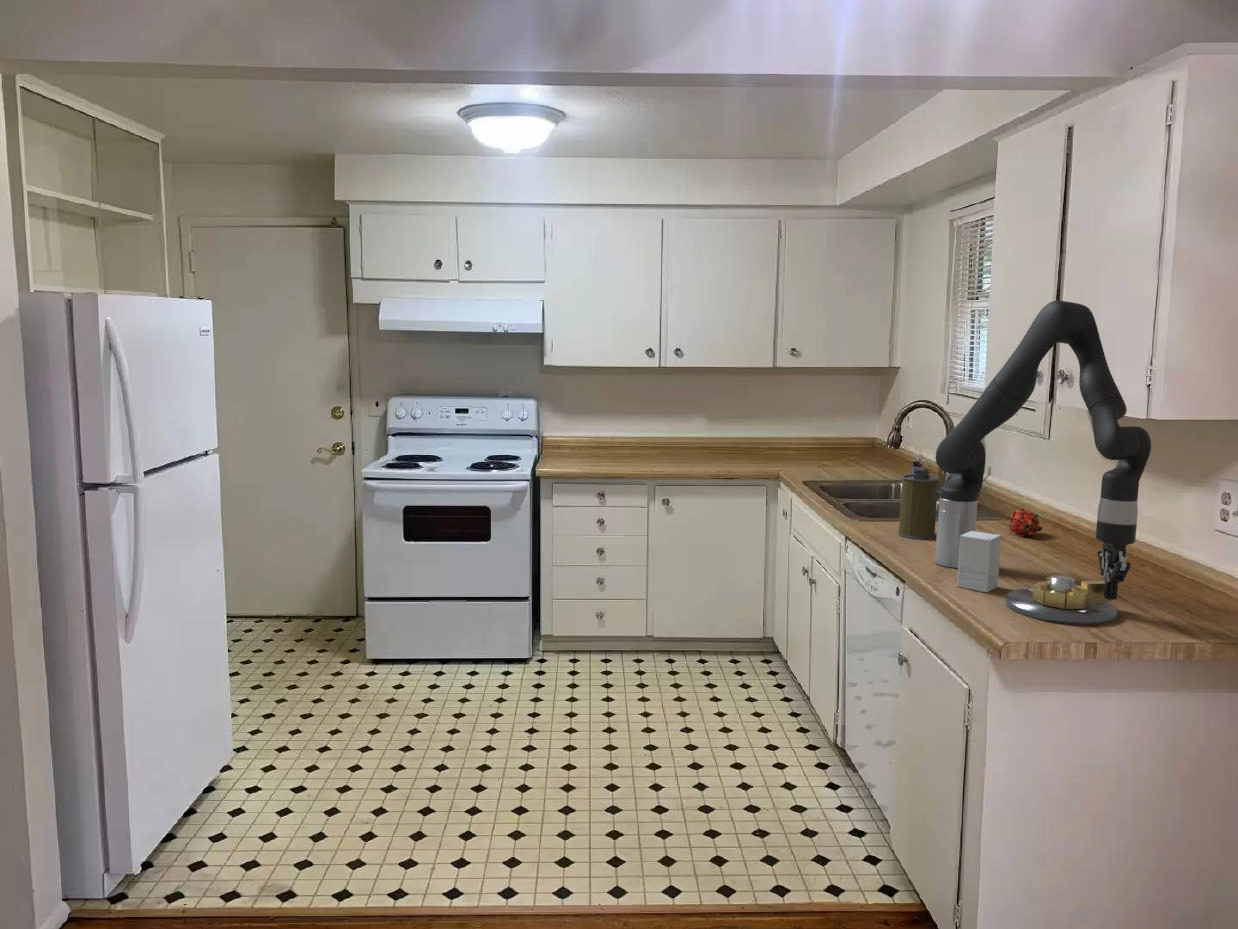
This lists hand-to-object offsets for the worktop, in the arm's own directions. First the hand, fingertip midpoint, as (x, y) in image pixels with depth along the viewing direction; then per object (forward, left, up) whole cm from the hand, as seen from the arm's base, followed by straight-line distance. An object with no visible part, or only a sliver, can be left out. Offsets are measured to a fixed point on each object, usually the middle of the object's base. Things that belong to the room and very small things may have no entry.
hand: (1110, 598), depth 202 cm
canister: (-75, -11, -4) cm, 76 cm away
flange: (-3, -9, -3) cm, 10 cm away
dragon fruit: (-75, +22, -4) cm, 78 cm away
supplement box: (-21, -19, -4) cm, 29 cm away
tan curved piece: (-3, -6, -2) cm, 7 cm away
